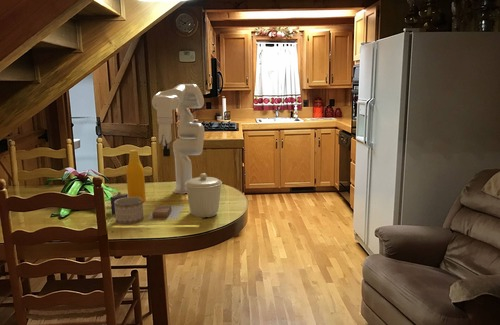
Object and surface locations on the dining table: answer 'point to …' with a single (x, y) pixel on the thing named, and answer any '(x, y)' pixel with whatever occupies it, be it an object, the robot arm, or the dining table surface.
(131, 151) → the beer bottle
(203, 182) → the canister
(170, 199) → the dining table surface
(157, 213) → the slab
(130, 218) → the planter
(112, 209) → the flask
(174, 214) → the board
